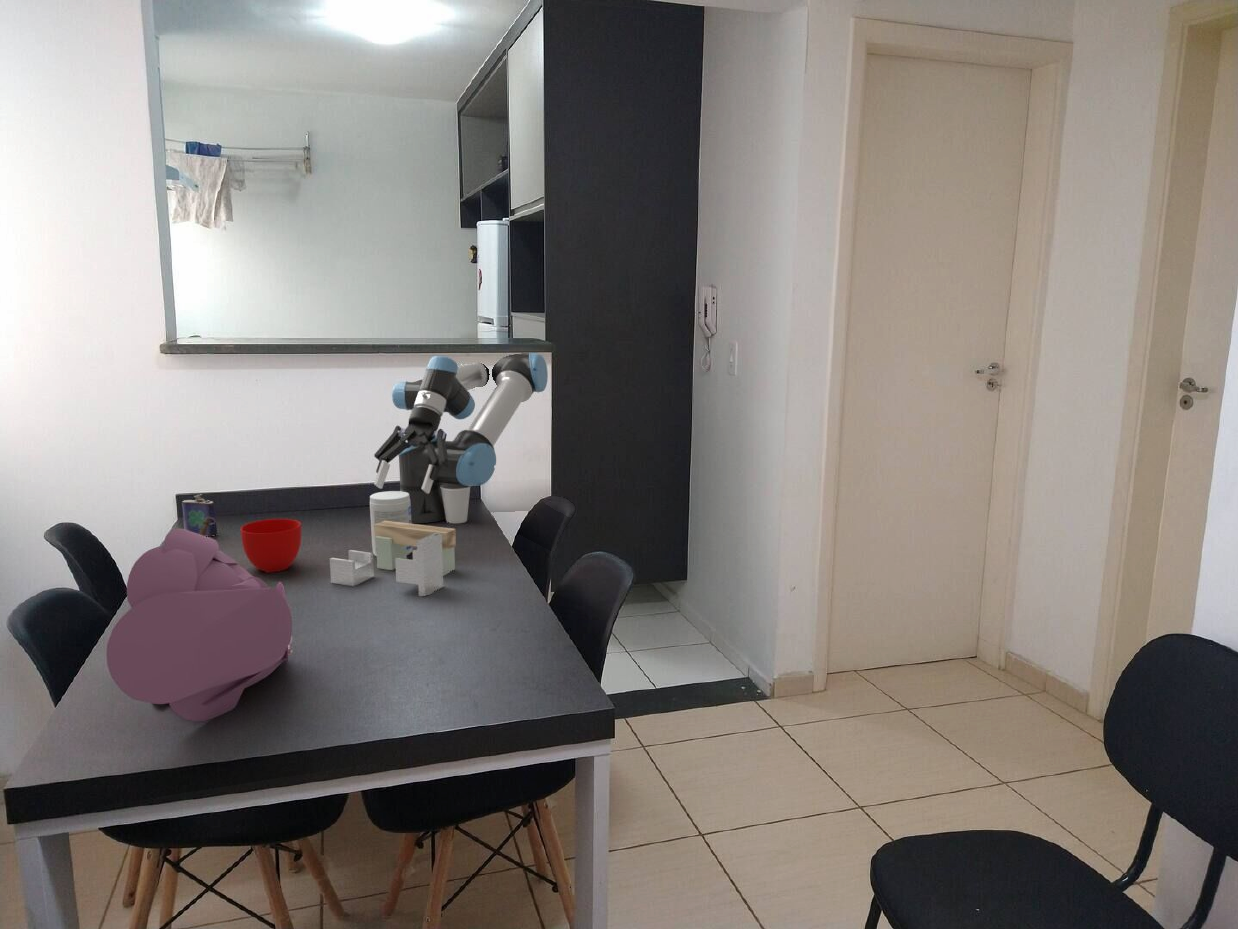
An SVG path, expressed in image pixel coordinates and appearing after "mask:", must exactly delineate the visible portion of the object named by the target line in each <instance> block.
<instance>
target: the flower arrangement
mask: <svg viewBox="0 0 1238 929" xmlns="http://www.w3.org/2000/svg"><path fill="white" fill-rule="evenodd" d="M219 548H220V545H219V543H218V541H217V540H216V539H214V538H213V537H208V536H207V537H206V536H203V535H200V534H197V533H194V532H191V531H188V530H185V529H184V528H181V527H179V528H178V527H177V528H174V529H171V530H170V531H169V532H168V533H167V534H166V536H165V539H164V542H163V545H160V546H156V547H154V548H151V549H148V550H147V551H145V552H144V553H143V554H141V555H140V556H139V558H138V559H136V561H135V563H133V566H132V567H131V570H130V571H129V572H130V573H129V574H128V578H127V583H126V596H127V598H126V599H127V602H128V604H129V606H130V607H131V608H130V609H129V610H128V611H127V612H125V614H123V615H122V616H121V618H119V620H118V621H117V622H116V624H115V625H114V626H113V629H112V631H111V632H110V636H109V638H108V640H107V644H106V662H107V663H106V664H107V668H108V672H109V674H110V676H111V679H112V680H113V682H114V683H115V684H116V686H117V687H118V689H120V690H121V692H123V694H125V695H126V696H128V697H129V698H130V699H132V700H135V701H140V702H145V703H148V704H149V703H150V704H154V705H166V704H168V705H169V707H170V709H171V710H172V711H173V712H174V713H175V714H176V715H178V716H179V717H180V718H182V719H184V720H187V721H191V722H204V721H210V720H211V719H215V718H217V717H219V716H222V715H225V714H227V713H229V712H231V711H233V710H234V709H235V707H236V706H237V705H238V702H239V700H240V699H241V697H242V694H243V693H244V690H245V689H246V688H249V687H251V686H252V685H255V684H256V683H259V682H261V681H262V680H264V679H265V678H267V677H268V676H269V675H271V674H272V673H273V672H274V671H275V670H276V669H277V668H278V667H279V666H280V665H281V664H282V663H283V662H284V661H285V662H286V663H288V662H289V656H290V655H291V654H293V649H292V647H291V645H290V644H292V643H293V636H292V634H293V620H292V619H293V618H292V614H291V613H292V608H291V606H290V605H289V603H288V602H287V596H286V591H285V587H284V585H283V583H282V582H281V581H278V583H277V585H276V587H269V586H268V584H267V583H266V582H265V581H264V580H262V578H260V577H258V576H253V575H252V574H251V573H250V572H248V571H247V570H246V569H245V568H244V567H242V566H240V565H238V562H237V561H236V560H234V559H233V558H231V557H230V556H229V555H227V554H225V553H224V552H223V551H221V550H220V549H219ZM290 647H291V648H290ZM228 711H229V712H228ZM226 712H227V713H226ZM224 713H225V714H224Z"/></svg>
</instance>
